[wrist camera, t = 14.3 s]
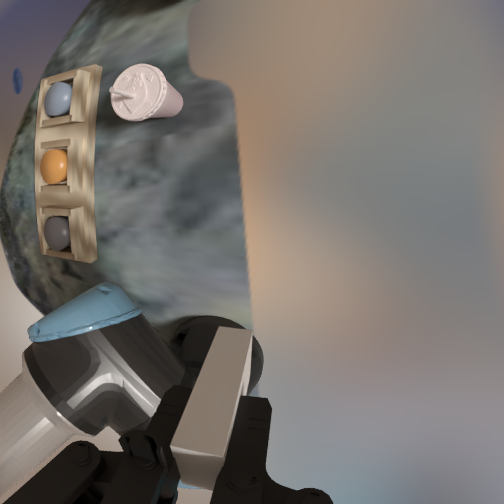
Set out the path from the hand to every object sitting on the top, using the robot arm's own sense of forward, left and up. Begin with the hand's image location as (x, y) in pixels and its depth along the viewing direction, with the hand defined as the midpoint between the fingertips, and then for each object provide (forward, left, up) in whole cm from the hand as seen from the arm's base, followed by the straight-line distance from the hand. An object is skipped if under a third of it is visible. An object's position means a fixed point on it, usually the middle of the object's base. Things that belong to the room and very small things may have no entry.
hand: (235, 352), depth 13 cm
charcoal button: (-3, +31, -24) cm, 39 cm away
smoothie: (+15, +14, -27) cm, 34 cm away
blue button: (+17, +31, -24) cm, 42 cm away
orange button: (+7, +31, -24) cm, 39 cm away
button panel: (+7, +32, -26) cm, 42 cm away
